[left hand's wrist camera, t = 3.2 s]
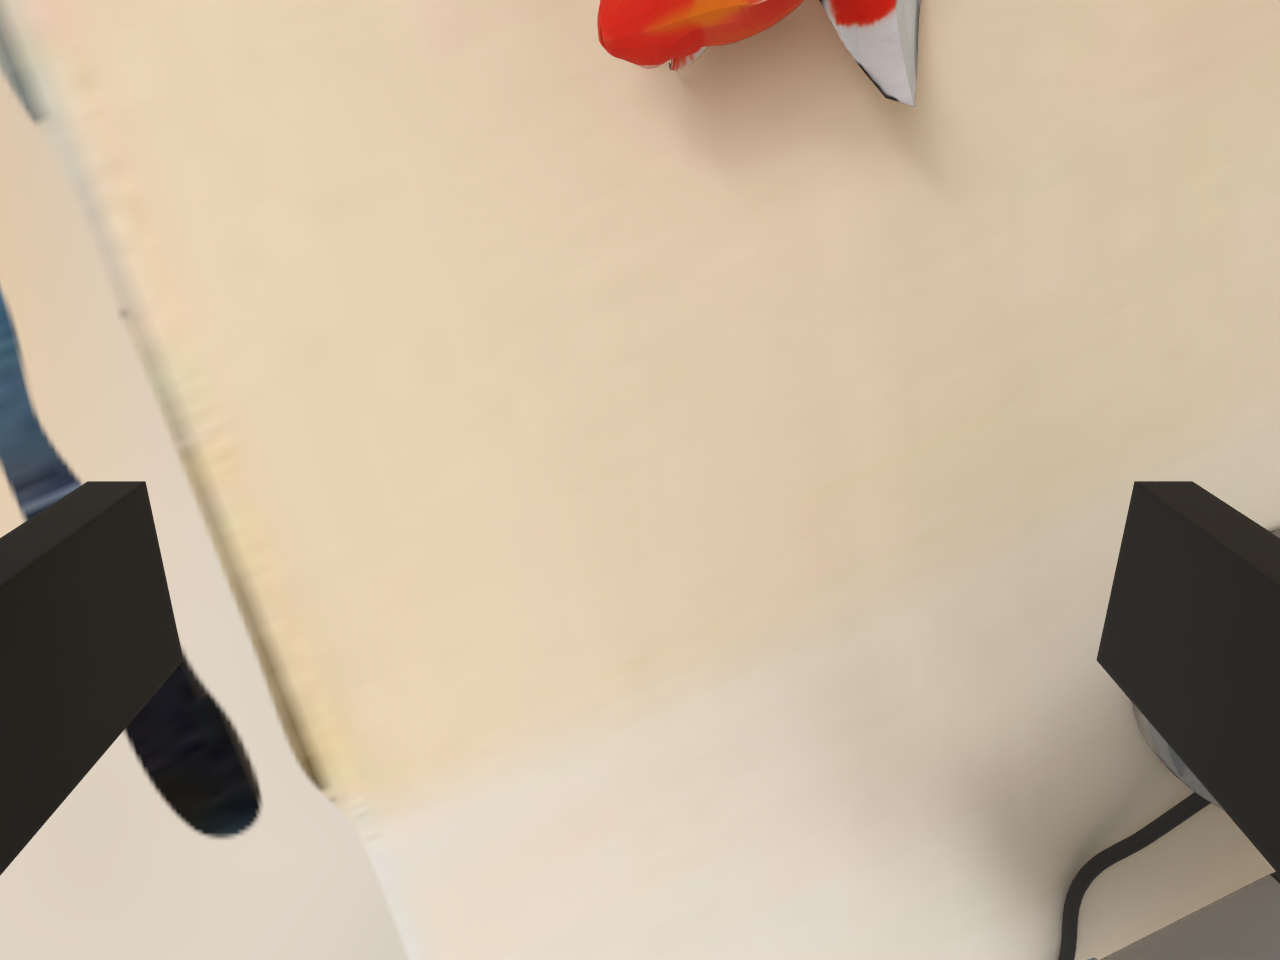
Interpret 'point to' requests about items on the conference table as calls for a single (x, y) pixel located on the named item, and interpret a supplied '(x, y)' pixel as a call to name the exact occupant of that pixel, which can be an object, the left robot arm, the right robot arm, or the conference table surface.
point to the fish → (749, 3)
